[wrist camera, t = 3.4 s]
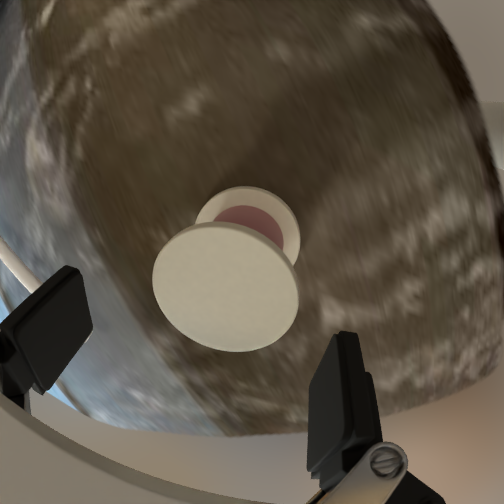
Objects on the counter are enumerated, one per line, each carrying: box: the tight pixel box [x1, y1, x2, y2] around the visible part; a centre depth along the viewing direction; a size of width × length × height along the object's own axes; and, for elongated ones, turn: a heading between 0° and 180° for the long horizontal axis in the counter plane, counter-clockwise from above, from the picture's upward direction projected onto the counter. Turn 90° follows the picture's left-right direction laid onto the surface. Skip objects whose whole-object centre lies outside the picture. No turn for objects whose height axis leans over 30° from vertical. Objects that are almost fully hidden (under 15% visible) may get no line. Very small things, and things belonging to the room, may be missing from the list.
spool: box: [152, 186, 300, 352], centre depth 14 cm, size 6×6×6 cm
